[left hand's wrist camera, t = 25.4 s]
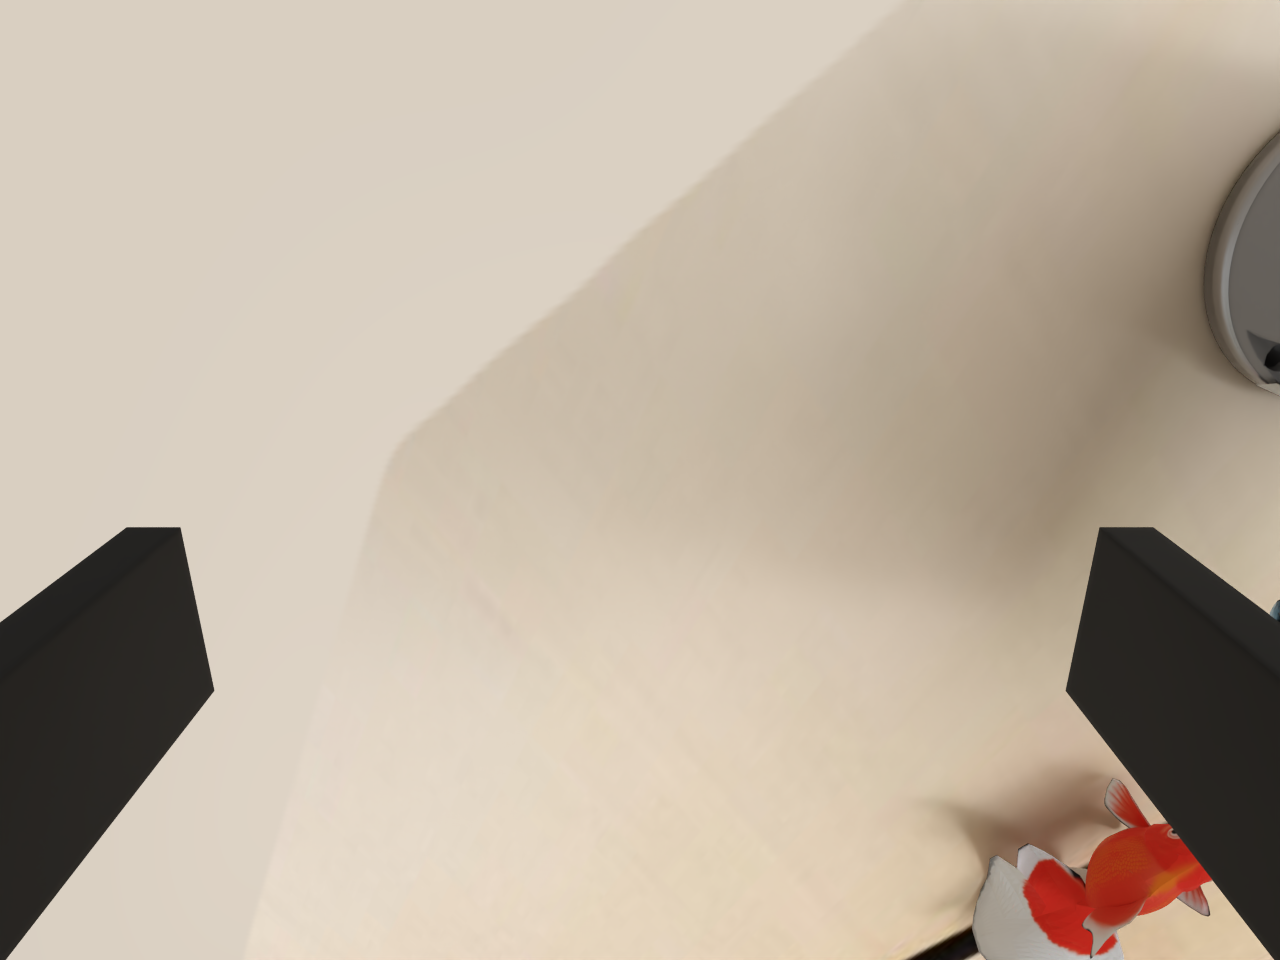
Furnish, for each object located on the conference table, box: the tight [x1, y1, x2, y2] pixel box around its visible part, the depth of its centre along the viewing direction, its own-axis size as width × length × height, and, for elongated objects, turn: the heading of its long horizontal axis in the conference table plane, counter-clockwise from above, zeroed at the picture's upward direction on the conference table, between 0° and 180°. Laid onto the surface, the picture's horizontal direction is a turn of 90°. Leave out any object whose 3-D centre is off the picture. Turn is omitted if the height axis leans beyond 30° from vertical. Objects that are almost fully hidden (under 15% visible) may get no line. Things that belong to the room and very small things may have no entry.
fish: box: [972, 779, 1212, 960], centre depth 52 cm, size 11×16×10 cm
